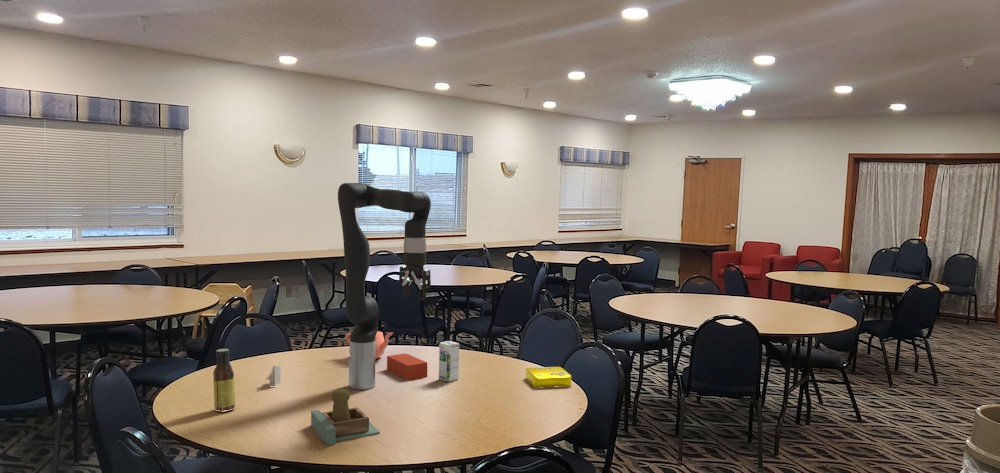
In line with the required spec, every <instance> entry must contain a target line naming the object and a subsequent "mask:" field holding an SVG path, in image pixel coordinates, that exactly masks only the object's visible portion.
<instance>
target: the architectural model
mask: <svg viewBox="0 0 1000 473" xmlns="http://www.w3.org/2000/svg"><path fill="white" fill-rule="evenodd" d="M281 375H282V373H281V364H279V365H276V366H275V365H273V366H272V370H271V372H270V374H268V376H267V377H266V378H265V381H266V380H269V387H270V386H275V385H277V384H278V383H280V384H281ZM277 386H278V385H277Z"/></svg>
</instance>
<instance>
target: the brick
mask: <svg viewBox="0 0 1000 473" xmlns="http://www.w3.org/2000/svg"><path fill="white" fill-rule="evenodd" d="M386 370H387V371H388V372H390V373H392V374H395V375H396V376H398V377H400V378H403V379H405V380H407V381H410V380H416V379H423V378H428V362H427V361H425V360H422V359H421V358H418V357H416V356H414V355H411V354H409V353H399V354H392V355H391V354H390V355H386Z"/></svg>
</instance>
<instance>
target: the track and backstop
mask: <svg viewBox="0 0 1000 473" xmlns="http://www.w3.org/2000/svg"><path fill="white" fill-rule="evenodd" d="M322 413H323V412H322V411H321V410H320V409H315V410H311V411H310V414H311V415H310V418H311V420H310V426H311V428H312V429H313V430H314V431H315V432H316V433H317V435H318V436H319V437H320V439H321V440H322V441H323V443H325V445H326V446H331V445H332V446H333V445H336V442H340V441H346V440H351V439H357V438H364V437H368V436H374V435H380V434H381V432H380V430H379V429H378V428H376V427H375V425H373V424H372V422H370V421H369V431H364V432H358V433H352V434H346V435H341V436H336V428H335V427H334V426H333V425H332V424H331V422H330V421H329V420H328V419H327V418H326V417H325V416H324V415H323V414H322Z"/></svg>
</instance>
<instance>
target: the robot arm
mask: <svg viewBox="0 0 1000 473" xmlns="http://www.w3.org/2000/svg"><path fill="white" fill-rule="evenodd" d="M337 203H338V208H339V215H340V221H341V228H342V229H341V230H342V238H343V255H344V266H345V267H344V268H345V281H346V282H345V287H346V288H345V292H346V293H345V314H346V317H347V319H348V320H349V322H350V323H352V324H354V325H355V327H354V329H352V331H351V332H350V333H351V334H350V344H349V349H350V353H349V359H348V386H349V387H350V388H351V389H354V390H369V389H373V388H375V387H376V358H375V338H376V334H377V331H378V329H379V314H380V312H379V305H378V302H377V301H376V299H375V298H373V297H372V296H368V295H367V296H366V291H365V282H366V279H367V275H368V272H369V269H370V265H371V251H370V242H369V240H368V238H367V236H366V235H365V233H364V231H363V230H362V228H361V227H360V225H359V222H358V220H357V215H356V209H361V208H366V207H375V206H378V207H380V208H382V209H385V210H392V211H399V212H403V213H410V214H411V213H413V216H412V218H411V219H408V220H406V221H405V222H404V239H403V264H404V265H405V266H399V276H398V279H399V280H398V283H399V284H401V285H402V286H403V287H402V290H403V291H402V294H403V298H409V297H410V296H411V283H412V282H415V284H417V286H418V288H419V289H418V300H419V301H425V300H426V298H427V289H428V288H431V283H432V282H431V281H432V280H431V269H430V268H429V269H425V267H424V266H426V265H427V241H426V240H427V239H426V231H427V230H426V229H427V228H426V225H427V222H428V218H429V214H430V212H431V207H432V205H431V204H432V203H431V198H430V196H429V194H428V193H427V192H425V191H405V190H404V191H403V190H400V189H390V188H385V189H384V188H378V187H373V186H371V185H369V184H368V185H367V184H365V183H361V182H344V183H341V184H340V185H339V187H338V189H337ZM378 332H379V331H378Z"/></svg>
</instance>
